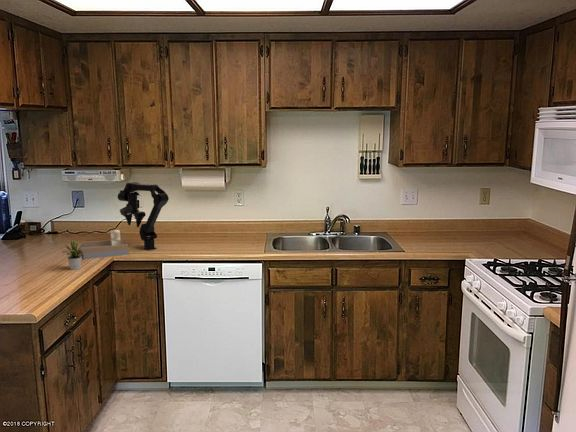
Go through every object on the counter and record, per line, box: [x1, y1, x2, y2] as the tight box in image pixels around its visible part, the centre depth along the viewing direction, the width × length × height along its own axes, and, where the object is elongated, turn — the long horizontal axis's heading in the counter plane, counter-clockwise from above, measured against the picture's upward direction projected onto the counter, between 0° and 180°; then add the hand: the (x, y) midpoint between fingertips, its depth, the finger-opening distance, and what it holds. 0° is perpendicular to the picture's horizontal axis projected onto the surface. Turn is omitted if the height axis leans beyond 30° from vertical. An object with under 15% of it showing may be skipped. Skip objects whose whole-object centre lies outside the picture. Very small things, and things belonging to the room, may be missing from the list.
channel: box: [80, 238, 130, 260], centre depth 295 cm, size 25×18×6 cm
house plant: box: [59, 238, 85, 271], centre depth 263 cm, size 14×14×16 cm
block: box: [109, 229, 121, 246], centre depth 297 cm, size 5×5×10 cm
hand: (133, 226), depth 312 cm, fingers open, 9 cm apart
